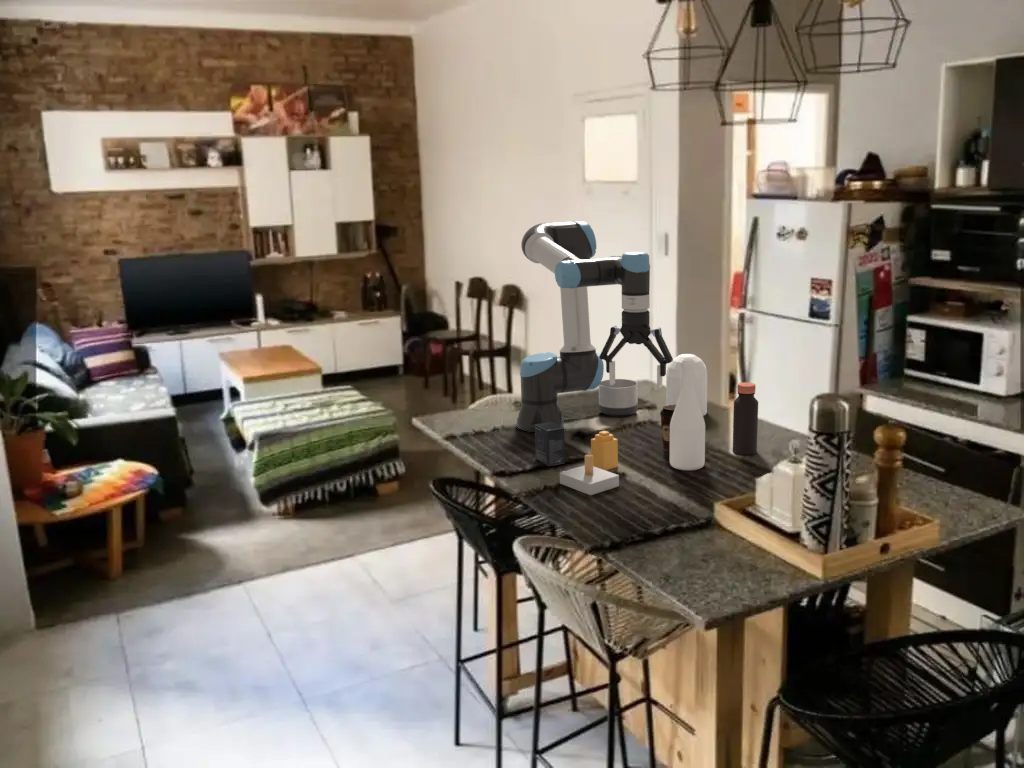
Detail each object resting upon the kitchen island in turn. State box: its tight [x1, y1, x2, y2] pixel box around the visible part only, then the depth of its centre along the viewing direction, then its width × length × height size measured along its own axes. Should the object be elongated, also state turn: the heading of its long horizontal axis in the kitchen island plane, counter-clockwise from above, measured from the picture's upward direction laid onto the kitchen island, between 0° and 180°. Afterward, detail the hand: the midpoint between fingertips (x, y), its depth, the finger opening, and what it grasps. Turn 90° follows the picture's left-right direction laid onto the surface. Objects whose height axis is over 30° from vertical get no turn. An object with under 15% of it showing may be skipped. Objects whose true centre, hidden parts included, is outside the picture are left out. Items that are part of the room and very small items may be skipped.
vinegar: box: [732, 381, 759, 456], centre depth 257 cm, size 7×7×20 cm
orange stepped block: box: [590, 430, 619, 471], centre depth 250 cm, size 5×5×10 cm
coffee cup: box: [659, 405, 676, 453], centre depth 262 cm, size 9×8×13 cm
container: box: [665, 353, 708, 417], centre depth 300 cm, size 13×13×20 cm
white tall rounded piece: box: [669, 359, 706, 471], centre depth 246 cm, size 10×10×30 cm
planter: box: [598, 378, 639, 418], centre depth 303 cm, size 13×13×10 cm
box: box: [534, 422, 566, 467], centre depth 256 cm, size 8×6×11 cm
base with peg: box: [559, 453, 620, 496], centre depth 238 cm, size 15×10×8 cm, turn 37°
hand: (635, 386), depth 250 cm, fingers open, 13 cm apart
